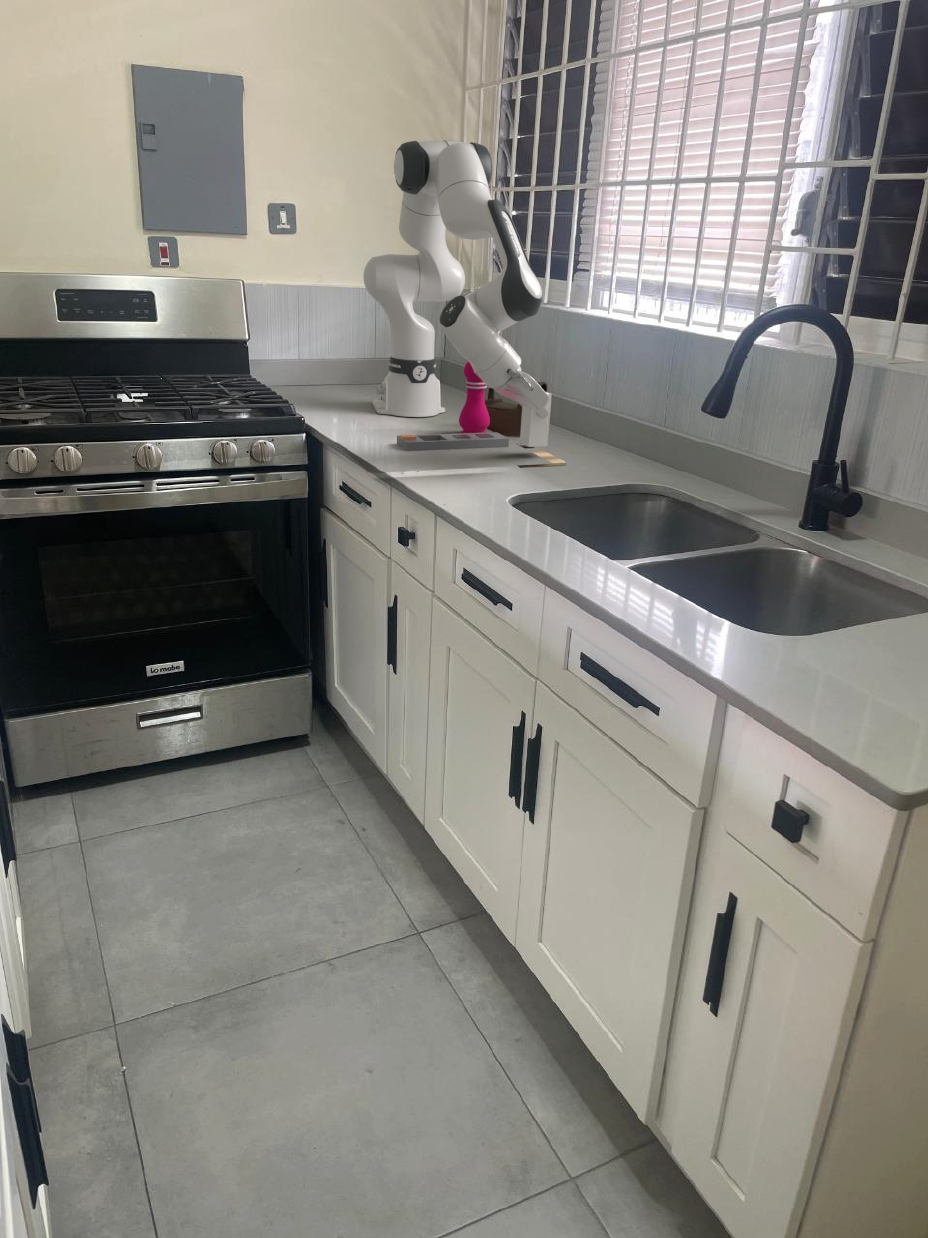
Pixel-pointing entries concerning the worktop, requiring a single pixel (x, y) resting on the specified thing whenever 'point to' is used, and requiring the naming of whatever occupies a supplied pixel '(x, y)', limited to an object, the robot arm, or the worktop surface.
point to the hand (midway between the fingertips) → (538, 413)
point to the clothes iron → (505, 414)
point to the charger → (535, 426)
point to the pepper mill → (474, 404)
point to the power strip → (453, 441)
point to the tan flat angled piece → (548, 457)
